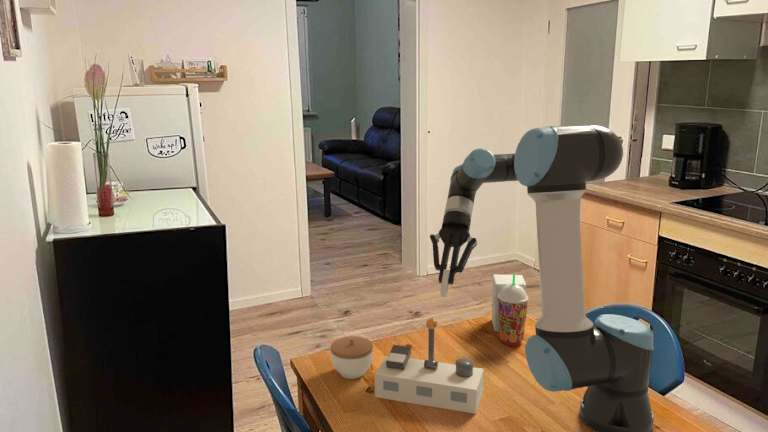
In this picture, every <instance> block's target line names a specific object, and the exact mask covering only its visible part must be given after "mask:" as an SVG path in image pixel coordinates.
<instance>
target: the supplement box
mask: <svg viewBox="0 0 768 432" xmlns="http://www.w3.org/2000/svg"><path fill="white" fill-rule="evenodd" d="M492 275H493V278H492V301H491V302H492V304H491V306H492V308H491V322H492V326H493V332H499V316H498V294H499V293H500V291H501V289H502V288H503V287H504V286H506V285H508V284H512V281H513V275H515V284H517V285H520V286H521V287H522V288H523V289H524V290H525V292H526V293H527V283H526V281H525V279H524V276H523V275H522V274H497V273H496V274H492Z"/></svg>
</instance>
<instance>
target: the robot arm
mask: <svg viewBox="0 0 768 432" xmlns="http://www.w3.org/2000/svg"><path fill="white" fill-rule="evenodd" d="M621 141H622V140H621V139H620V138H619V137H618V135H617V134H616V133H615V132H614V131H612V130H611V129H609V128H607V127H604V126H601V125H595V124H589V125H588V124H586V125H557V126H556V125H550V126H543V127H535V128H531V129H529V130H528V131H526V132H525V133H524V134H523V135H522V137H521V138H520V141H519V142H518V143H517V147H516V149H515V153H506V154H505V153H502V154H501V153H500V154H499V153H498V154H493V153H492V152H491V151H490V150H487V149H485V148H475V149H473V150H472V151H470V153H469V154H468V155H467V156H465V159H464V160H463V162H462V164H459V165H458V166H456V167H454V169H453V170H452V174H451V176H450V182H449V188H448V193H447V194H448V195H447V200H446V204H445V208H444V215H443V219H442V223H441V228H440V230H439V231H438V233H437V234H430V235H429V238H430V240H431V244H432V251H433V253H432V257H433V265H434V266H433V267H434V269H435V271H438V272H439V273H438V282H439V284H440V289H439V293H440V297H443V298H447V297H448V294H449V287H450V285H452V286H453V284H454V283H455V278H456V277H455V276H456V274H458V273H461V274H462V273H463V272H464V271H465V270H464V269H465V267H466V265H467V263H468V260H469V258H470V256H471V254H472V251H473V250H474V249H475V248H476V247H477V246H478V241H477V238H476V237H472V236H471V234H470V229H471V228H470V227H471V223H472V222H471V221H472V219H471V218H472V216H473V210H474V203H475V198H476V194H477V191H478V190H479V189H480V188H481V186H483V184H487V183H490V184H491V183H501V182H518V183H520V185H522V186H525V187H526V189H527V190H526V191H527V195H528V196H529V197H530V198H531V199H532V200H533V202H535V215H536V216H535V217H536V219H535V220H536V231H537V232H536V234H537V235H536V236H537V248H538V249H537V250H538V263H539V264H538V267H539V268H538V270H539V285H540V287H539V288H540V304H541V316H540V318H539V319H538V320H537V321H536V322H535V323H534V328H535V334H533V335H531V336H530V337H528V338H527V339H526V343H525V346H524V347H525V348H524V351H525V359H526V363H527V365H528V368H529V371H530V374H531V375H532V376H533V377H534V380H535V381H536V382H537V383H538V385H539V386H540V387H541V388H543V389H544V390H546V391H548V392H554V393H555V392H561V391H562V392H563V391H564V392H569V391H571V390H576V389H581V388H586V387H587V388H586V389H585V390H586V391H585V392H584V395H583V397H582V398H581V401H580V403H579V404H580V405H579V416H580V418H581V420H582V421H583V422H584V424H586V426H588V427H589V428H590V429H592V430H594V431H595V432H652V431H653V429H654V422H655V421H654V420H655V416H654V411H653V410H652V407H651V401H650V398H649V396H650V395H649V385H650V376H651V368H652V362H653V361H652V360H653V351H654V350H655V348H654V332H653V330H652V329H651V328H650V327H649V326H648V325H647V324H645V323H643V322H641V321H639V320H637V319H634V318H632V317H628V316H625V315H620V314H612V313H611V314H608V313H607V314H606V313H605V314H600V315H598V316H597V317H596V318H595V320H594V322H593V321H592V320H590V319H589V318H588V316H587V315H586V306H585V305H586V304H585V288H584V271H583V269H584V267H583V252H582V251H583V250H582V233H581V231H582V230H581V219H580V218H581V217H580V216H581V213H580V212H581V211H580V201H579V200H580V199H581V197H582V196H583V195H584V194H585V193H586V192H587V182H595V181H601V180H603V179H605V178H607V177H609V176H611V175H612V174H614V173H615V172H616V171H617V170H618V169H619V167H620V166H621V163H622V162H623V156H624V147H623V144H622V142H621ZM440 240H441V241H442V243H443V251H442V256H441V261H440V253H439V251H440V250H439V244H438V243H439V242H440ZM466 243H467V244H466ZM465 244H466V246H465V248H464V250H463V253H462V255H461V257H460V259H459V254H460V251H461V247H462V246H463V245H465ZM451 248H453V249H452V253H451V254H452V255H451V261H450V266H449V269H447V268H448V263H449V257H450V252H451ZM458 260H459V261H458ZM594 324H595V325H594Z"/></svg>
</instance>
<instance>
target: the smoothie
mask: <svg viewBox="0 0 768 432" xmlns="http://www.w3.org/2000/svg"><path fill="white" fill-rule="evenodd" d="M512 275H513V281H512V284H508V285H506V286H504V287H503V288H502V289H501V291H500V293H499V294H498V316H499V331H498V338H499V340H500V343H502V344H503V345H506V346H508V347H511V346H512V347H515V346H520V345H521V344H522V341H523V340H524V338H525V337H524V336H525V327H526V321H527V320H526V319H527V312H528V311H527V310H528V303H529V296H528V294H527V291H526V292H525V290H524V289H523V288H522V287H521V286H520V285H517V284H515V275H516V274H512Z"/></svg>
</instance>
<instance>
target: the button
mask: <svg viewBox="0 0 768 432" xmlns="http://www.w3.org/2000/svg"><path fill="white" fill-rule="evenodd" d="M455 365H456V375H458V376H460V377H470V376H472V375H473V367H474V361H473V360H472V359H470V358H464V357H461V358H458V359H456V361H455Z"/></svg>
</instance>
